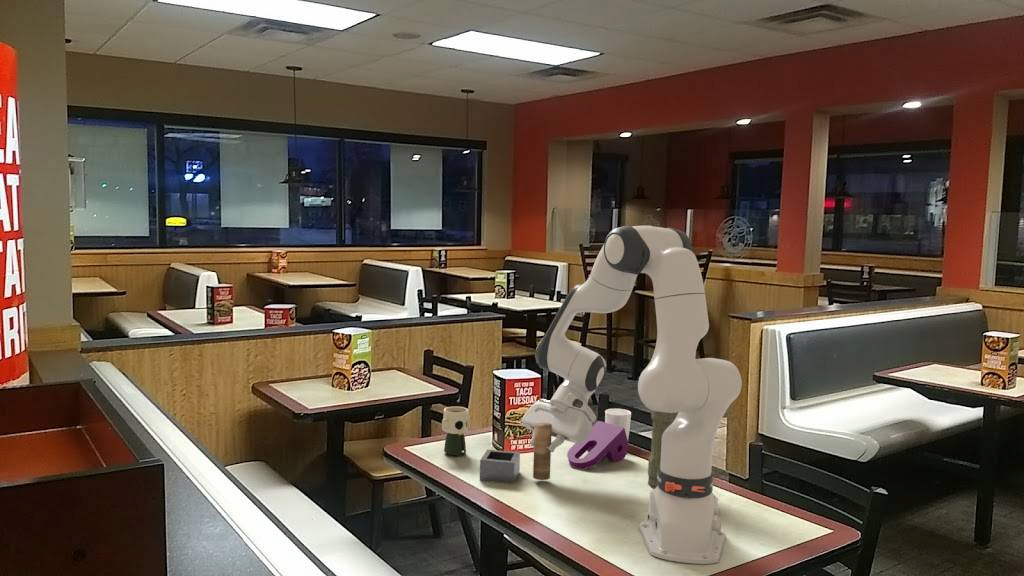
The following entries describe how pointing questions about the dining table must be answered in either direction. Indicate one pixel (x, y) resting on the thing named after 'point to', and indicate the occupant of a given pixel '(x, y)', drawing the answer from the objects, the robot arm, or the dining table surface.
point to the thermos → (658, 442)
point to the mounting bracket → (600, 446)
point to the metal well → (500, 466)
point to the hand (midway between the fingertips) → (540, 447)
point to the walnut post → (542, 451)
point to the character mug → (455, 429)
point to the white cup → (619, 418)
